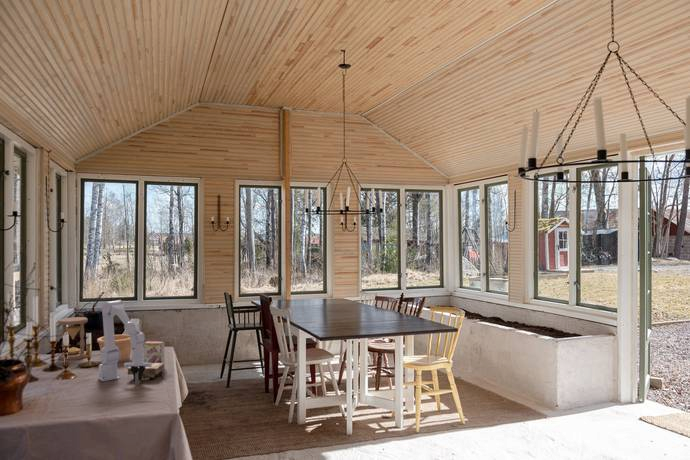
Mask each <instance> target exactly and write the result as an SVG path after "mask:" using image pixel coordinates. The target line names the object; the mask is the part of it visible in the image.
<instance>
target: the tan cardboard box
mask: <svg viewBox="0 0 690 460" xmlns="http://www.w3.org/2000/svg"><path fill="white" fill-rule="evenodd" d="M164 364H166V363H152V366H151V367H145V369H144V372H143V375H155V377H163V376H164V369H165V368H164ZM130 368H131V367H126V370H127V375H132V376H133V373H132V372H131V370H130ZM138 368H139V367H138Z"/></svg>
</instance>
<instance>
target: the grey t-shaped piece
mask: <svg viewBox="0 0 690 460" xmlns="http://www.w3.org/2000/svg"><path fill="white" fill-rule="evenodd" d="M145 376H150V379H151V378H155V377H156V376H155V375H142V378H144V377H145ZM134 381H135V382H134V385H140V384H141V380H140V381H139V374H138V372H137V373H135V379H134Z"/></svg>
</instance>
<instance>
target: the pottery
mask: <svg viewBox="0 0 690 460" xmlns="http://www.w3.org/2000/svg"><path fill="white" fill-rule="evenodd" d="M114 337H115V345H116V346H117V347H119V352H120V359H119V360H118V362H117V364H118V363H123V362H127V361H130V359H131V354H132V347H131V343H130V340H129V339H130V336H129V335H128V334H114ZM96 342H97V344H98V345H99V350H100V353H101V349H102V348H103V347H104V346H105V342H104V336H101V337H98V338H97V339H96ZM111 351H112V350H111Z"/></svg>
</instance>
